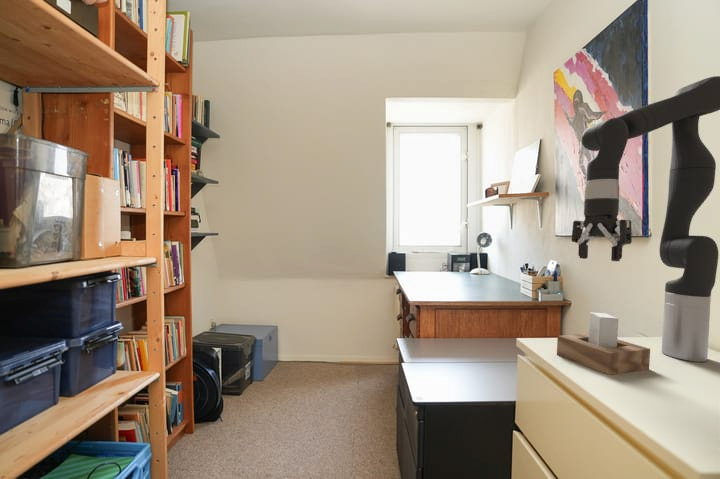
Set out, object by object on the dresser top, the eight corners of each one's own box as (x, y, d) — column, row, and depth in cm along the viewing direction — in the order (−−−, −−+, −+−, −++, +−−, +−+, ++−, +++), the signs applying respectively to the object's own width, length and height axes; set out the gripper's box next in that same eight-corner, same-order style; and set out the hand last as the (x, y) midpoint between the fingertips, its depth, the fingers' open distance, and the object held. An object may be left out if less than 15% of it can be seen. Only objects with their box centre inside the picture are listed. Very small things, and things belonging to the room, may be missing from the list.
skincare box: (616, 366, 87) (619, 318, 87) (597, 364, 88) (600, 317, 87) (604, 358, 93) (607, 313, 93) (586, 356, 94) (589, 311, 93)
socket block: (594, 350, 99) (594, 332, 99) (649, 369, 86) (650, 348, 86) (556, 354, 95) (557, 335, 94) (609, 374, 81) (610, 353, 81)
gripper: (640, 196, 87) (637, 262, 87) (585, 200, 100) (583, 257, 101) (620, 194, 84) (617, 262, 85) (566, 199, 98) (564, 257, 98)
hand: (598, 259), depth 93 cm, fingers open, 8 cm apart
